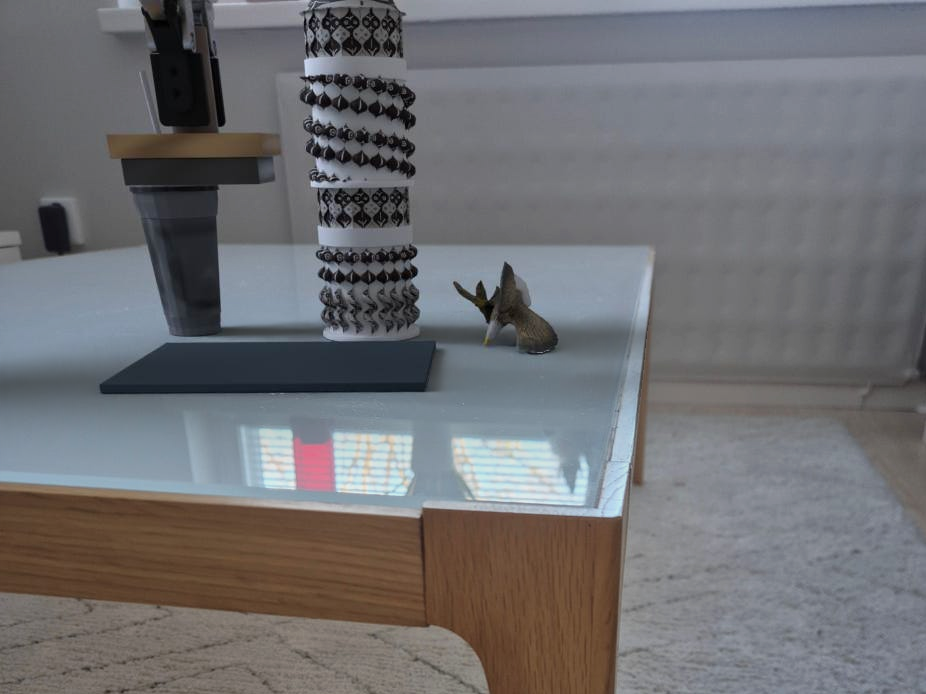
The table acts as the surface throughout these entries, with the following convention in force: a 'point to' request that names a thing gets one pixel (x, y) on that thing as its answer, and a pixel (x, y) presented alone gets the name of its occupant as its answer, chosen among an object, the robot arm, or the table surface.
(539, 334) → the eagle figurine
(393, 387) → the mat
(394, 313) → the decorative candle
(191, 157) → the brush
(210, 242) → the beverage cup
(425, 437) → the table surface
